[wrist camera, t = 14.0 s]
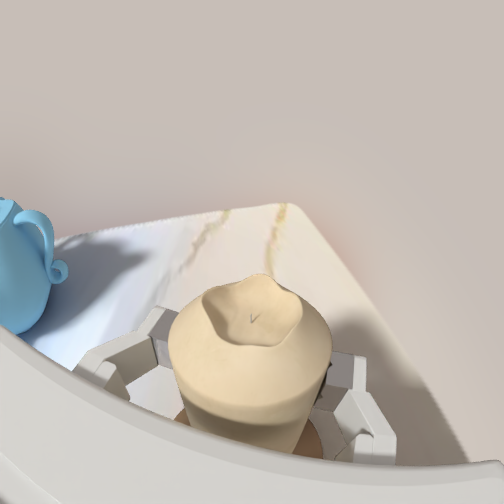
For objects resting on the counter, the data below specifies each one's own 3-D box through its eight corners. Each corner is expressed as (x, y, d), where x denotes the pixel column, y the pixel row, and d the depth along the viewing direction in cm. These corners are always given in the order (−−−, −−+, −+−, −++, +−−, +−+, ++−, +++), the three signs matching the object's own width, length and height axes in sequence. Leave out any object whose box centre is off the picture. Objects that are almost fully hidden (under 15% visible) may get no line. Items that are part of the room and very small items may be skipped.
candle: (181, 460, 13) (125, 344, 7) (215, 384, 17) (202, 243, 12) (284, 487, 12) (335, 397, 6) (304, 404, 16) (344, 267, 11)
